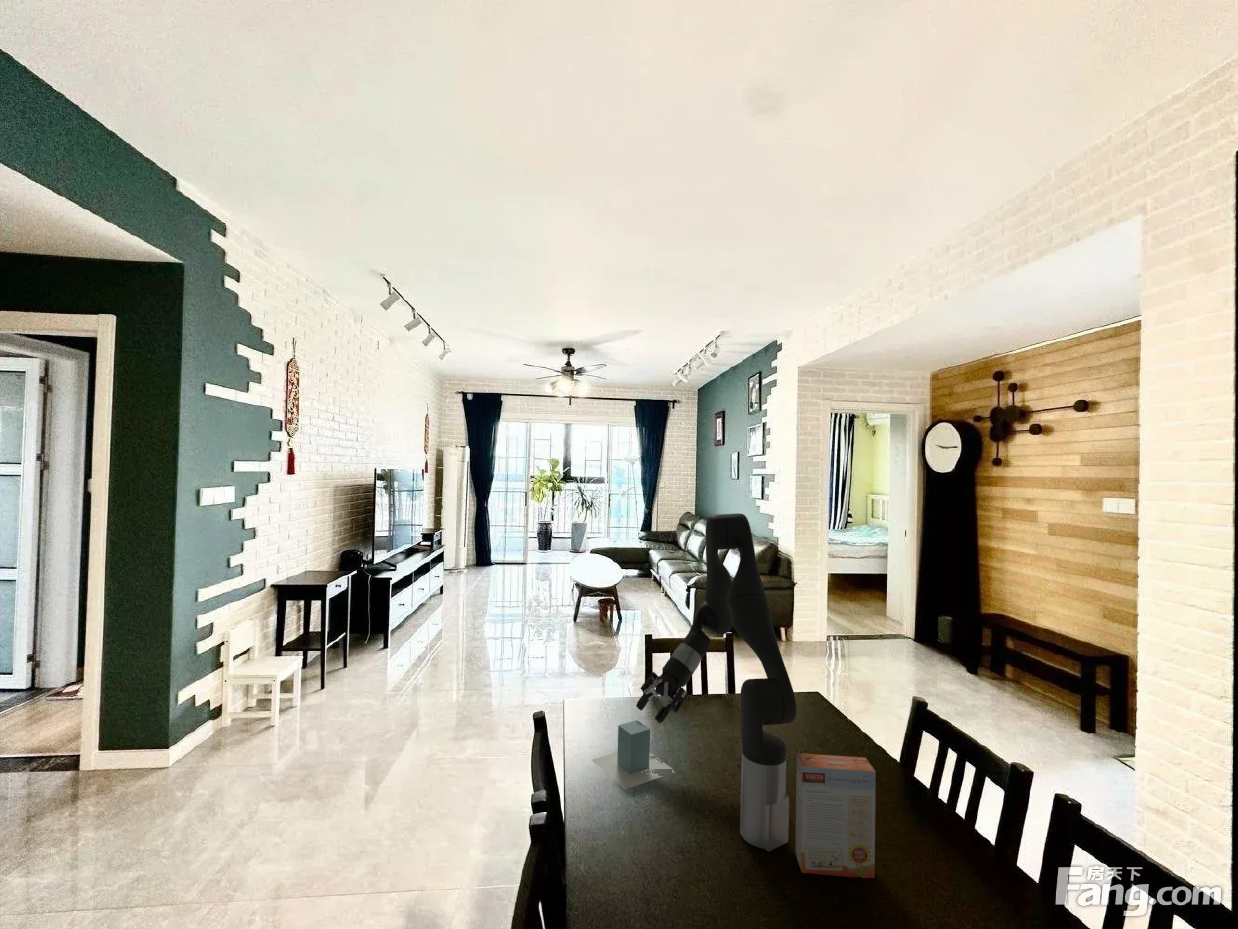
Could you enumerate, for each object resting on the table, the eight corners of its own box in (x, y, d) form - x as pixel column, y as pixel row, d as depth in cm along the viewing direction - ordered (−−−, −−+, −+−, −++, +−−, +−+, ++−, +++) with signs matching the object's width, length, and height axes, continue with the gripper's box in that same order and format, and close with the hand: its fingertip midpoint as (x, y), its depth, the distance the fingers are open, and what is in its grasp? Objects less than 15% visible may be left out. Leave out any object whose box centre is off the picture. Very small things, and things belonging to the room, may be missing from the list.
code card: (676, 771, 144) (676, 771, 144) (624, 790, 135) (624, 789, 135) (640, 745, 157) (640, 744, 157) (591, 760, 148) (591, 759, 148)
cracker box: (864, 859, 113) (867, 756, 113) (875, 881, 107) (877, 772, 107) (793, 853, 114) (796, 750, 115) (800, 874, 108) (802, 766, 109)
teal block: (649, 767, 145) (650, 729, 145) (630, 774, 142) (631, 734, 142) (635, 757, 150) (636, 720, 150) (617, 763, 147) (618, 725, 147)
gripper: (659, 649, 160) (624, 697, 153) (691, 664, 148) (656, 717, 141) (673, 664, 162) (640, 712, 156) (706, 681, 151) (671, 733, 144)
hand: (647, 714), depth 149 cm, fingers open, 8 cm apart
